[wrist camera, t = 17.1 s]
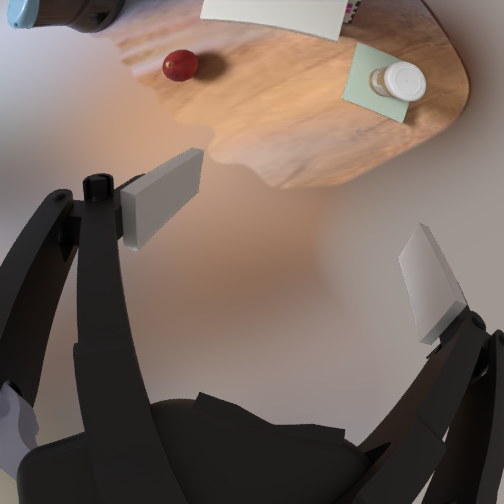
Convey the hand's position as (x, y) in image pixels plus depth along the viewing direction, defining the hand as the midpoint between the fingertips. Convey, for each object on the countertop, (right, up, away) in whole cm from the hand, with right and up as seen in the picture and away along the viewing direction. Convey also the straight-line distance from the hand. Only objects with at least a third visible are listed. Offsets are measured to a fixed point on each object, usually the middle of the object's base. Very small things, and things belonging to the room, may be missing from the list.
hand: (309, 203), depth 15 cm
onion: (-14, +30, +24) cm, 40 cm away
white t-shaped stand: (+4, +31, +17) cm, 36 cm away
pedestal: (+17, +24, +18) cm, 34 cm away
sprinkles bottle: (+16, +22, +16) cm, 32 cm away
